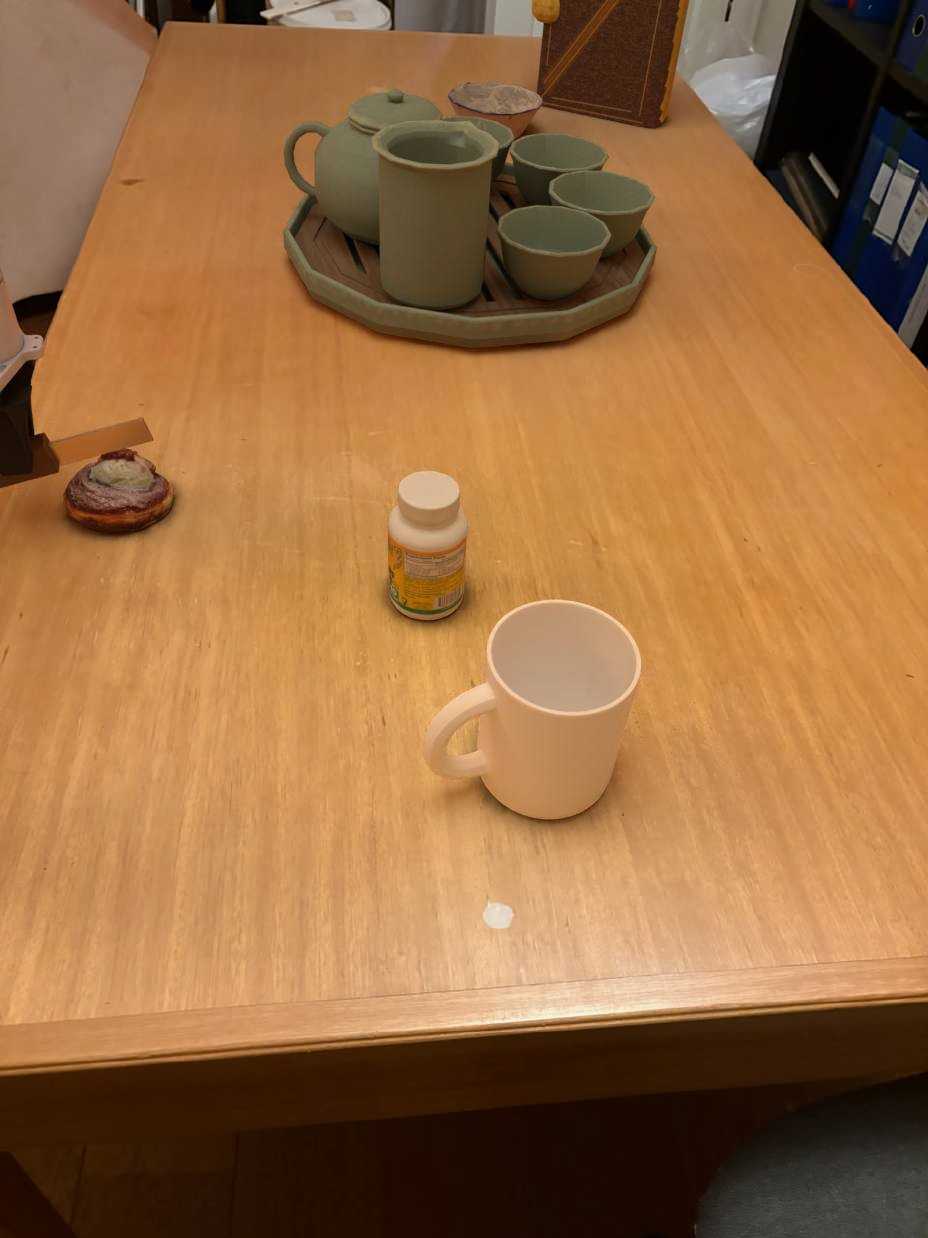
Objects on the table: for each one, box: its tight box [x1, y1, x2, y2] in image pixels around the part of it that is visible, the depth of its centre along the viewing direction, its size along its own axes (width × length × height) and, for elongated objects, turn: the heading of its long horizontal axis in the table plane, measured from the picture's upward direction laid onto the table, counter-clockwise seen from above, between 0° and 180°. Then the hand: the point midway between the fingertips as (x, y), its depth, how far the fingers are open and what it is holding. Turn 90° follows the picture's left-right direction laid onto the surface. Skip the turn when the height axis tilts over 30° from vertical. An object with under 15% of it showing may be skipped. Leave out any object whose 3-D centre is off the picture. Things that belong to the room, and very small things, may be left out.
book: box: [531, 0, 690, 129], centre depth 131 cm, size 22×8×25 cm, turn 65°
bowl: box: [447, 81, 543, 140], centre depth 129 cm, size 13×13×5 cm
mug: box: [422, 599, 642, 820], centre depth 52 cm, size 12×8×10 cm
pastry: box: [62, 448, 175, 533], centre depth 70 cm, size 8×8×5 cm
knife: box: [0, 416, 155, 489], centre depth 67 cm, size 12×2×2 cm, turn 104°
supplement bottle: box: [387, 470, 469, 621], centre depth 63 cm, size 5×5×10 cm
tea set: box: [282, 88, 658, 349], centre depth 97 cm, size 40×40×16 cm
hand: (18, 462), depth 67 cm, fingers closed on knife, 2 cm apart
